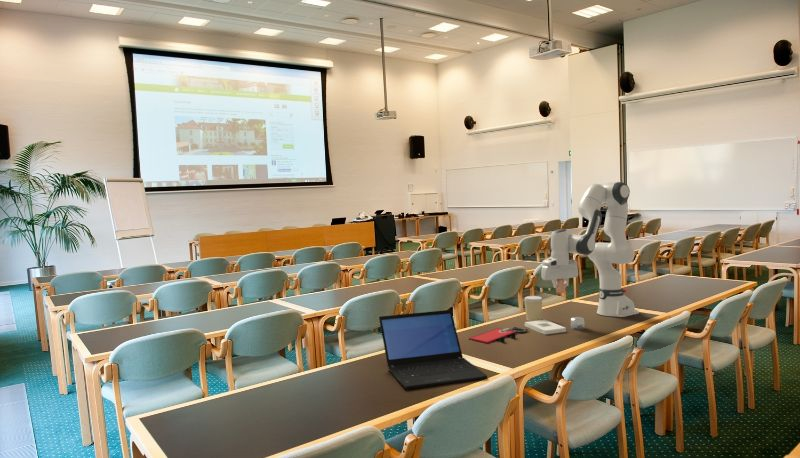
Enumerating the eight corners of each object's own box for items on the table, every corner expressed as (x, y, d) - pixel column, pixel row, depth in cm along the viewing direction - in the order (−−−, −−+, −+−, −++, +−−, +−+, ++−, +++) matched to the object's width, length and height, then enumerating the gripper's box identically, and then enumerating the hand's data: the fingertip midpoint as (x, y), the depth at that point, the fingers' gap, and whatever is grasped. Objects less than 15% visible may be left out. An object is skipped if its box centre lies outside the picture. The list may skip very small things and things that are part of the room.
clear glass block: (578, 326, 277) (578, 316, 277) (587, 329, 271) (586, 319, 270) (568, 327, 275) (568, 317, 275) (576, 330, 269) (576, 320, 268)
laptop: (404, 391, 198) (402, 339, 196) (379, 360, 234) (378, 316, 233) (488, 379, 207) (487, 329, 206) (452, 351, 243) (451, 308, 242)
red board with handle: (532, 332, 269) (507, 327, 280) (531, 326, 269) (507, 322, 280) (493, 346, 249) (468, 341, 260) (493, 340, 249) (468, 335, 260)
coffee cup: (541, 317, 297) (540, 295, 296) (544, 321, 287) (543, 299, 286) (523, 317, 298) (523, 295, 297) (526, 322, 288) (525, 299, 287)
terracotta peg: (561, 291, 284) (561, 278, 283) (565, 292, 280) (565, 279, 279) (554, 292, 282) (554, 278, 282) (559, 293, 279) (559, 279, 278)
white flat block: (544, 323, 284) (544, 319, 284) (565, 331, 267) (565, 327, 267) (524, 325, 280) (524, 322, 280) (544, 334, 263) (544, 330, 263)
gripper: (573, 258, 286) (573, 284, 287) (539, 261, 280) (539, 288, 281) (580, 259, 280) (581, 286, 281) (546, 263, 274) (546, 290, 275)
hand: (560, 287), depth 281 cm, fingers closed on terracotta peg, 4 cm apart
